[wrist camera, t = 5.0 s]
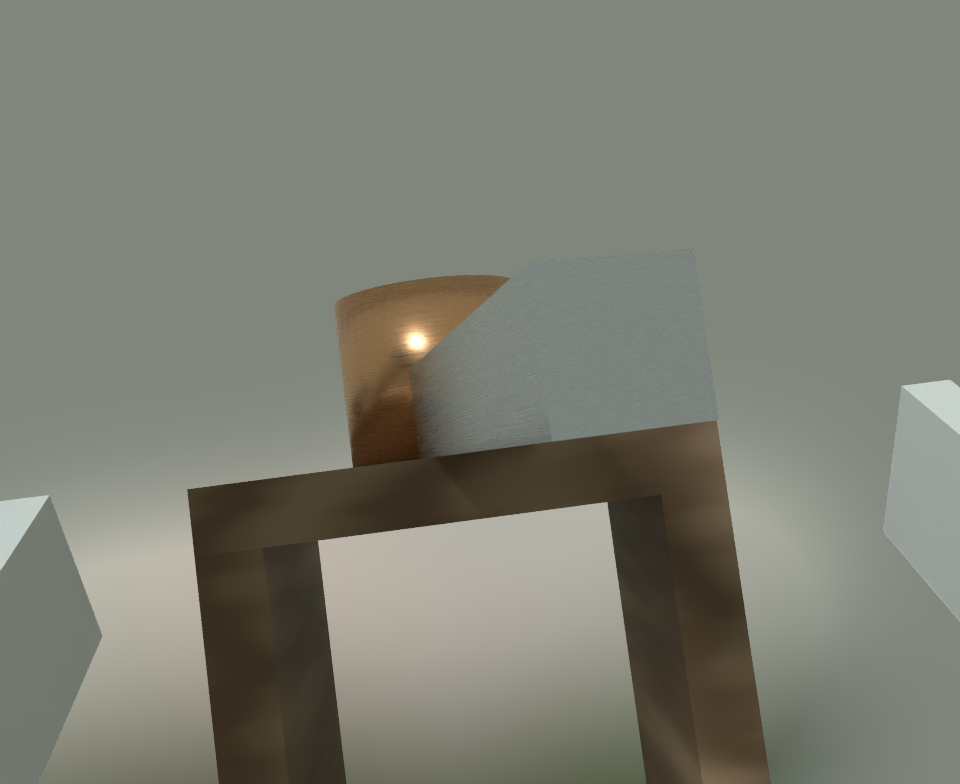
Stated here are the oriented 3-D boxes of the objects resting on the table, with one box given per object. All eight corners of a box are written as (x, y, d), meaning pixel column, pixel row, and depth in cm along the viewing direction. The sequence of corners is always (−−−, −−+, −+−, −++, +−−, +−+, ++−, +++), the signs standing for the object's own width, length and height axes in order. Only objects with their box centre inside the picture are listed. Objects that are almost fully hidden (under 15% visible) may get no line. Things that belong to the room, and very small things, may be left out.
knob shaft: (432, 457, 14) (386, 92, 14) (347, 468, 35) (329, 321, 36) (821, 406, 16) (770, 78, 16) (514, 446, 37) (495, 306, 37)
